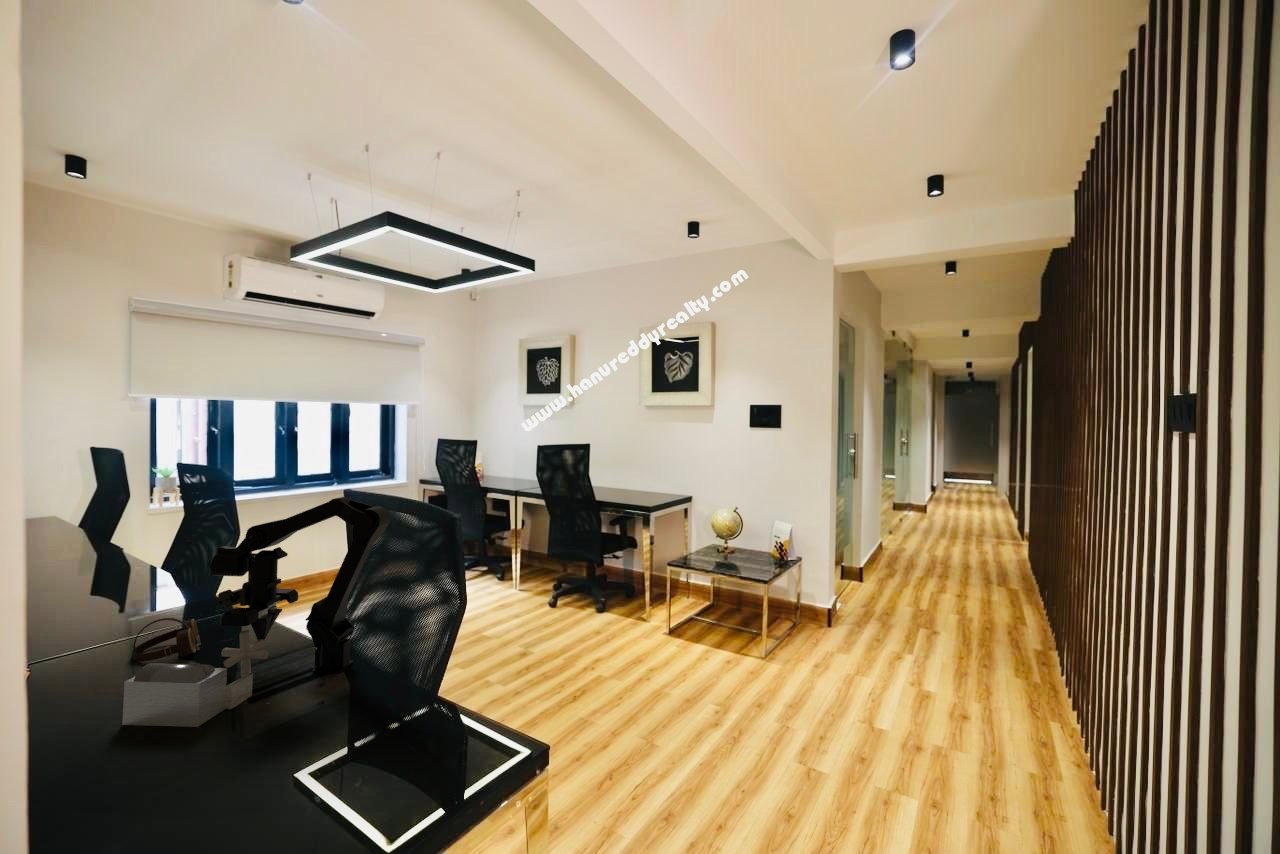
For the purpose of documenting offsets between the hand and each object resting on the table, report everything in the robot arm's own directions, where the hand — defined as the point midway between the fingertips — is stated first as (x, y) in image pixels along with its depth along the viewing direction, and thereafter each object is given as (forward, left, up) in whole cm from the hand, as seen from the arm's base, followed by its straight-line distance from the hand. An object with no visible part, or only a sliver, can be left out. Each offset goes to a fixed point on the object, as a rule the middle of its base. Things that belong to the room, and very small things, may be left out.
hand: (260, 642), depth 133 cm
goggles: (+27, -7, -6) cm, 29 cm away
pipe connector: (0, +5, -6) cm, 8 cm away
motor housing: (0, +21, -5) cm, 22 cm away
